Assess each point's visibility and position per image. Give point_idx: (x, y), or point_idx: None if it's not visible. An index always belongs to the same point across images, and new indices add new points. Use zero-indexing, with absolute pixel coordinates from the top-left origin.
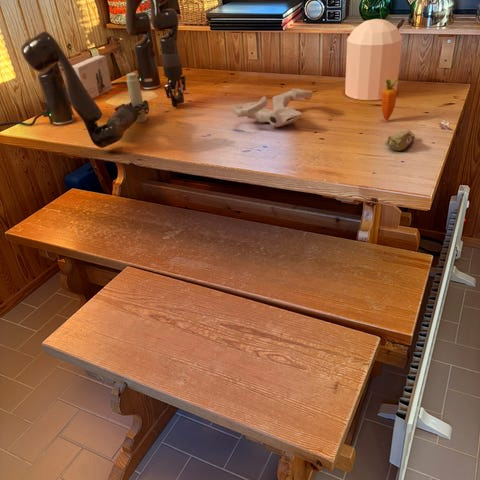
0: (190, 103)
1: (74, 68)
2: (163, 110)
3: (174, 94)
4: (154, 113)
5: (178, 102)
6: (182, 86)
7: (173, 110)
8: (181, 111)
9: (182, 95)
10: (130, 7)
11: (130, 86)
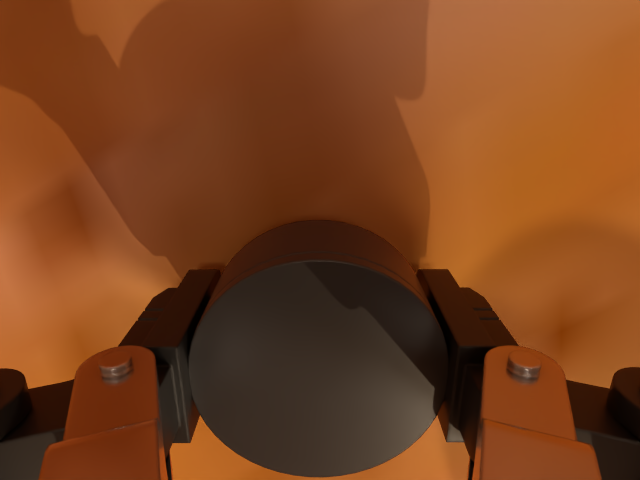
0: (150, 165)
1: None
2: None
3: (570, 420)
4: None
5: (415, 277)
6: (66, 475)
7: (505, 276)
8: (550, 120)
9: (204, 321)
10: None
11: None
